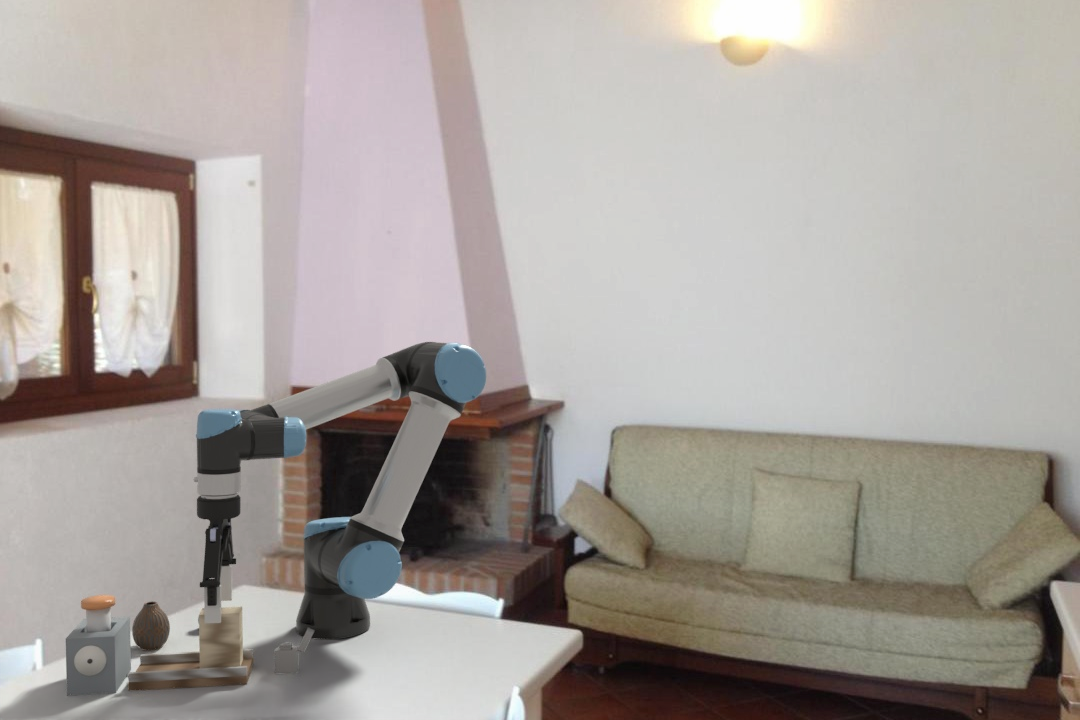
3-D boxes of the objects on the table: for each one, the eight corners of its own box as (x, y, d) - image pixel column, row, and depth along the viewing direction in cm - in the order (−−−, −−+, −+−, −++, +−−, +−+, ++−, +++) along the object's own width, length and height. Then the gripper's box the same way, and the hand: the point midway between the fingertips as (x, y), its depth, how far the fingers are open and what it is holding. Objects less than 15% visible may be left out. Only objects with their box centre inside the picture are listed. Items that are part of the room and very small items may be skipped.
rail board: (253, 664, 188) (253, 648, 188) (246, 684, 179) (246, 667, 178) (141, 670, 185) (141, 654, 185) (128, 690, 175) (128, 674, 175)
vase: (157, 654, 194) (156, 609, 193) (125, 651, 195) (124, 607, 195) (177, 642, 200) (176, 599, 200) (146, 639, 202) (145, 597, 201)
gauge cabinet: (131, 669, 185) (129, 616, 185) (114, 694, 174) (113, 637, 173) (85, 672, 184) (83, 618, 183) (65, 696, 173) (64, 639, 172)
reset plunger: (119, 637, 182) (118, 594, 182) (111, 648, 177) (110, 603, 176) (87, 639, 181) (86, 595, 181) (77, 650, 176) (76, 605, 175)
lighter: (274, 673, 184) (274, 630, 183) (276, 670, 185) (275, 627, 185) (313, 672, 184) (313, 630, 184) (315, 669, 186) (314, 626, 185)
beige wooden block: (242, 659, 185) (242, 606, 184) (240, 667, 181) (239, 613, 181) (203, 661, 184) (202, 608, 183) (199, 669, 180) (198, 615, 179)
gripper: (208, 483, 192) (208, 592, 193) (184, 508, 168) (184, 633, 169) (248, 482, 194) (248, 591, 195) (230, 508, 169) (230, 632, 170)
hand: (218, 611), depth 182 cm, fingers open, 13 cm apart
